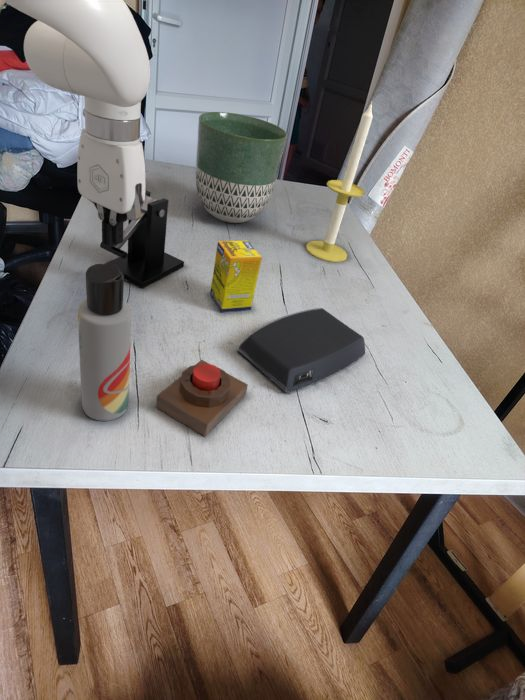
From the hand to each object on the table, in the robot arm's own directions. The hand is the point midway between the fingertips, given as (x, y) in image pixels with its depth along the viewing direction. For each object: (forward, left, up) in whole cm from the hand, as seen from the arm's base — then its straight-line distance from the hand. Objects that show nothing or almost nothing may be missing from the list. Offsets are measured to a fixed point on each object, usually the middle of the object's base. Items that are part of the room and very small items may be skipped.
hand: (112, 242), depth 79 cm
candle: (+47, -22, -8) cm, 52 cm away
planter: (+43, +3, -8) cm, 43 cm away
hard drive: (+7, -35, -8) cm, 37 cm away
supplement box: (+11, -18, -8) cm, 22 cm away
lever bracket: (+9, 0, -8) cm, 12 cm away
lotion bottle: (-22, -20, -8) cm, 31 cm away
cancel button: (-13, -29, -4) cm, 32 cm away
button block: (-13, -29, -8) cm, 33 cm away
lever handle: (+5, 0, +1) cm, 5 cm away
